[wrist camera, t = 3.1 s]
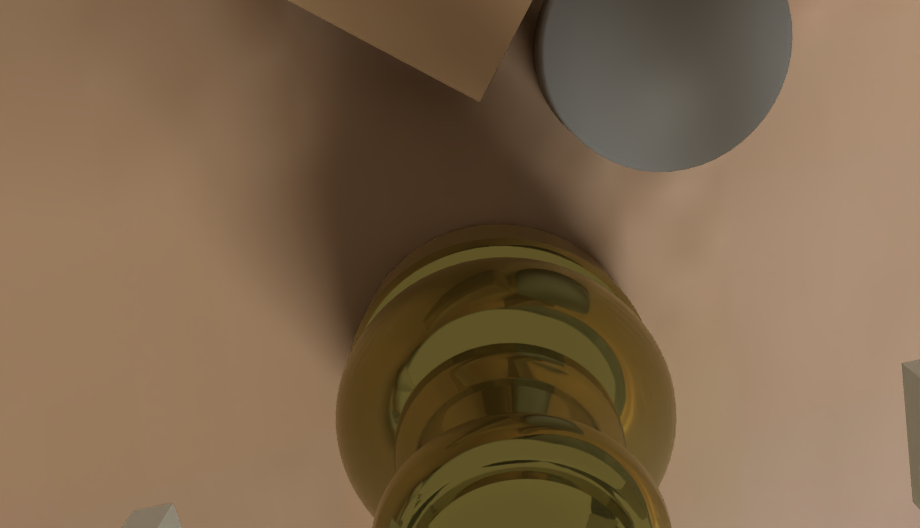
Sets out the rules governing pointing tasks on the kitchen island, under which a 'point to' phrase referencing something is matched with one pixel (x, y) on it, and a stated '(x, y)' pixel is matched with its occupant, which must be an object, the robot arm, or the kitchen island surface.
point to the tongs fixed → (662, 74)
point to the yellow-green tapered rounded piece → (505, 391)
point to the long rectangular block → (432, 34)
